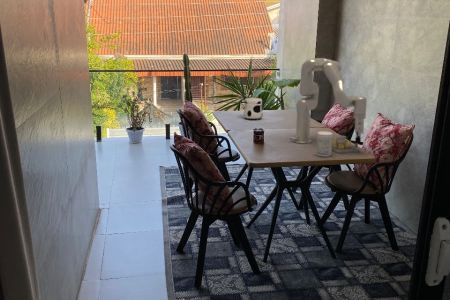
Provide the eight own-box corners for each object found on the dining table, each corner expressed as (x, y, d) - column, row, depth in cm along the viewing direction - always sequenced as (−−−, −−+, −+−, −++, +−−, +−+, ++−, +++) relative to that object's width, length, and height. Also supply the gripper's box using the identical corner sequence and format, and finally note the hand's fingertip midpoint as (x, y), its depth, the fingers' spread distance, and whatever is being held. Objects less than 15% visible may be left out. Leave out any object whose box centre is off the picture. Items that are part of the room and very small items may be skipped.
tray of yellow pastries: (337, 153, 286) (338, 140, 283) (322, 146, 304) (323, 133, 302) (359, 152, 290) (360, 139, 287) (343, 144, 308) (344, 132, 306)
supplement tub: (321, 152, 290) (322, 130, 286) (334, 154, 283) (335, 132, 279) (313, 155, 283) (314, 132, 279) (326, 158, 277) (327, 135, 273)
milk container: (240, 117, 403) (241, 98, 399) (258, 116, 408) (258, 97, 404) (247, 121, 387) (247, 100, 383) (265, 120, 392) (266, 100, 388)
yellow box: (331, 148, 292) (332, 140, 291) (331, 143, 304) (332, 136, 302) (358, 149, 288) (358, 142, 287) (357, 145, 299) (358, 138, 298)
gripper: (366, 118, 276) (364, 146, 280) (364, 114, 290) (362, 141, 294) (354, 117, 277) (352, 145, 282) (352, 113, 291) (351, 140, 296)
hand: (357, 143), depth 288 cm, fingers closed
